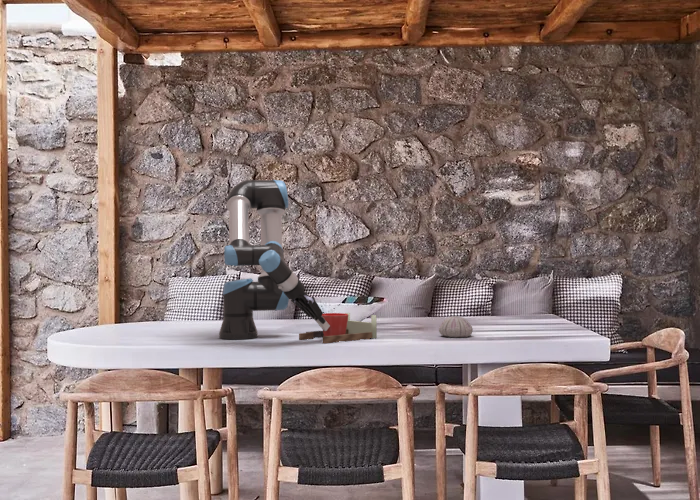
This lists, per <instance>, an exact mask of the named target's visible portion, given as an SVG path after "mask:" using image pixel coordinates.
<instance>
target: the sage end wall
mask: <svg viewBox="0 0 700 500" xmlns="http://www.w3.org/2000/svg"><path fill="white" fill-rule="evenodd" d="M344 314H348V322H347V328H346V329H348V334H355V333H365V332H372V338H377V337H378V336H377V333H378V331H377V330H378V329H377V326H378V324H377V315H376V314H371V315H370V316H371V317H370V319H371V321H370V322H368V321H357V320H351V313H350V312H345V313H344ZM377 339H378V338H377Z"/></svg>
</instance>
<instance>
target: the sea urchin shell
mask: <svg viewBox="0 0 700 500" xmlns="http://www.w3.org/2000/svg"><path fill="white" fill-rule="evenodd" d="M473 329H474V328H473V326H472V324H471V323H470V322H469V321H468V320H467V319H466V318H465V317H463V316H458V315H457V316H455V315H453V316H449V317H447V318H445V319H444V320H443V321H441V323H440V325H439V327H438V332H439V334H440V335H441V336H443V337H447V338H454V339H455V338H456V339H457V338H467V337H470V336H471V335H472V334H473Z"/></svg>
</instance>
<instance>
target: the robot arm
mask: <svg viewBox="0 0 700 500" xmlns="http://www.w3.org/2000/svg"><path fill="white" fill-rule="evenodd" d="M288 208H289V196H288V190H287V185H286V183H285V181H283V180H281V179H280V180H278V179H277V180H276V179H246V180H243V181H241V182H239V183H238V184H236V185H235V186H234V187H232V189H231V191H229V193H228V195H227V199H226V209H227V211H228V212H229V214H228V215H229V217H228V219H229V220H228V221H229V224H228V226H229V227H228V229H229V233H228V235H229V237H228V238H229V240H228V241H229V243H228V244H229V245H225V246H224V249H223V250H224V252H223V253H224V254H223V255H224V262H223V263H224V264H225V265H226V266H231V267H232V266H233V267H240V266H241V267H242V266H260V267H261V273H260V274H259V276H258V277H257V281H254V280H253V278H250V277H249V278H243V279H242V278H241V279H235V280H229V281H225V282H224V284H223V289H222V290H223V292H222V296H223V319H222V323H221V327H220V329H219V333H218V334H219V335H218V336H219V337H218V338H219V339H222V340H249V339H250V340H251V339H256V338H258V330H257V327H256V322H255V320H254V312H260V311H261V312H264V311H266V312H267V311H275V312H276V311H285V310H287V308H288V306H289V303H290V302H289V301H291V302H292V303H293V304H294V305H296V307H297V308H299V309H300V310H301V311H302V312H303V313H304V314H305V315H306V316H307V317H308V318H312V319H313V320H314V321H315V322H316V323H317V324H318V326H319V327H320V328H321V329H322V331H323V330H324V331H327V329H328V328H329V327H330V325H329V324H328V323H327V321H326V320H325V319H324V318H323V317H322V314H324V312H323V310H322V309H321V307H320V306H319V305H318V303H317V301H316V299H315V296H309V295H308V293H307V292H305V285H304V284H303V283H302V281H301V280H300V279H299V277H298V276H297V275H296V274H295V272H294V271H293V270H291V268H290V266H288V264H287V263H286V262H285V261H286V260H285V253H284V249H283V227H282V226H283V225H282V222H283V221H282V219H283V218H282V216H283V215H284V214H285V213H286V209H288ZM250 209H256V213H257V215H259V216H260V245H259V244H253V245H252V244H250V226H249V225H250V221H249V211H250Z"/></svg>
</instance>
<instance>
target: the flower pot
mask: <svg viewBox="0 0 700 500" xmlns="http://www.w3.org/2000/svg"><path fill="white" fill-rule="evenodd" d="M322 317H323V318H324V319H325V320H326V321H327V323H328V324H329V325H330V327H329V328H328V329H327V331H324V330H323V329H322V331H323V334H324V336H333V335H344V334H345V333H346V328H347V322H348V314H345V313H343V312H342V313H341V312H327V313H326V312H325V313H323V314H322Z"/></svg>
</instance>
